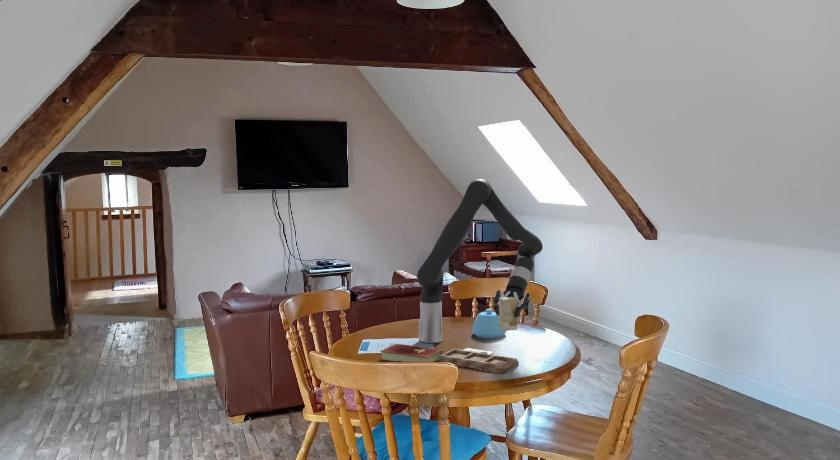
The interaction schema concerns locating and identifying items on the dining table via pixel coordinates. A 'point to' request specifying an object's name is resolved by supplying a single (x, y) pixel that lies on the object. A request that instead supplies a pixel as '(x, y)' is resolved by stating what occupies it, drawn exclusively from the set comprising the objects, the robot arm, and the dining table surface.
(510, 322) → the skincare box
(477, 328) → the sugar bowl
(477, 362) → the socket board
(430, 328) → the robot arm
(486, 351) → the card
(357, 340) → the dining table surface
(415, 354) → the hardcover book
